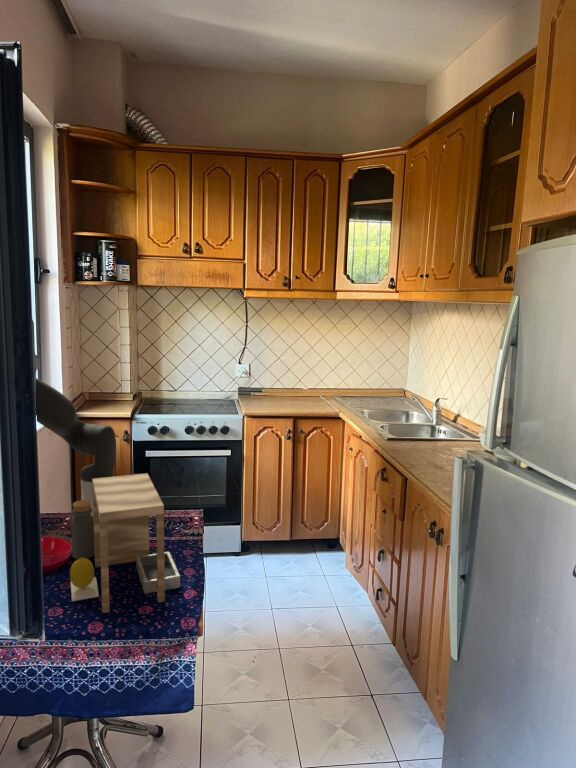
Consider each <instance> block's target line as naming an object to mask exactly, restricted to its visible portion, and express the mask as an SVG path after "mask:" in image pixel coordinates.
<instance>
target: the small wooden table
mask: <svg viewBox="0 0 576 768" xmlns="http://www.w3.org/2000/svg"><path fill="white" fill-rule="evenodd" d="M92 483H93V514H94V546H95V554H94V565H95V566H94V567H95V568H99V567H100V576H101V577H100V580H101V581H100V584H101V609H102V610H101V612H102V614H106V613H110V609H111V606H110V583H109V582H110V580H109V579H110V575H109V572H110V571H109V566H113V565H121V564H126V563H131V562H136V557H137V556H143V555H150V516H155V517H156V519H155V520H156V528H155V529H156V530H155V531H156V533H155V534H156V535H155V536H156V553H157V592H156V595H157V596H156V599H157V602H158V603H164V602H165V601H166V600H165V599H166V597H165V596H166V595H165V593H166V592H165V591H166V590H165V576H164V552H165V505H164V503H163V501H162V498H161V497H160V495H159V493H158V491H157V488H155V485H154V483H153V481H152V480H151V477H150V476H149V473H148V472H146V473H135V474H124V475H118V476H117V475H116V476H114V475H113V477H104V478H94V479H92Z"/></svg>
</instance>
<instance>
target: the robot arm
mask: <svg viewBox="0 0 576 768" xmlns="http://www.w3.org/2000/svg"><path fill="white" fill-rule="evenodd" d="M35 378H36V377H35ZM36 415H37V421H36V422H37V423H39V424H40V425H42V426H43V427H45V428H46V429H48V430H49V431H51V432H53V434H56V435H57V436H58V437H60V438H62V439H63V440H64V441H65V442H66V443H67V444H68V445H69V446H71V448H72V449H74V451H76V452H77V453H79V454H81V455H87V456H93V457H94V463H92V464H89V465H86V466H84V467H82V468H81V469H80V494H81V495H80V498H81V500H87V501H90V502H91V506H90V507H91V508H92V513H91V514H90V515H92V516H93V517H94V514H93V483H92V479H94V478H104V477H114V470H115V465H116V433H115V431H114V428H113V427H112V426H110V425H106V424H97V423H88V422H84V421H83V420H82V419H79V418H78V417H77V411H76V407H75V404H74V403H73V402H72V401H71V400H70V399H69V398H68V397H66V396H65V395H64V394H63V393H61V392H60V391H59V390H57V389H55V387H52V386H51V385H50V384H48V383H46V382H44V381H42V380H40V379H38V378H36ZM81 500H80V501H81Z"/></svg>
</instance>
